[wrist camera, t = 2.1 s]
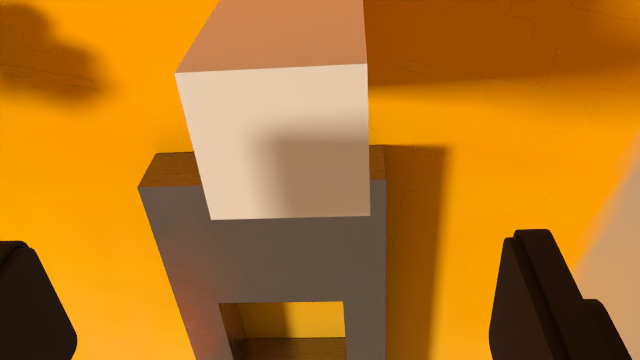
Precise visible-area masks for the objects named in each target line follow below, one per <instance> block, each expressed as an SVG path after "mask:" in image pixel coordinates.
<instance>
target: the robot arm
mask: <svg viewBox="0 0 640 360" xmlns="http://www.w3.org/2000/svg"><path fill="white" fill-rule="evenodd" d="M489 345H490V350H491V354H492V358H493V360H632V358H631V357H630V355H629V353H628V351H627V349H626V347H625V345H624V343H623V341H622V339H621V337H620V335H619V333H618V331H617V330H616V328H615V326H614V324H613V322H612V320H611V318H610V316H609V314H608V312H607V310H606V309H605V307H604V306H603V304H602V303H601V302H600V301H598V300H597V299H583V297H582V295H581V293H580V291H579V289H578V287H577V285H576V283H575V281H574V279H573V277H572V275H571V273H570V271H569V268H568V266H567V264H566V262H565V260H564V258H563V256H562V254H561V252H560V250H559V248H558V246H557V244H556V242H555V239H554V237H553V235H552V234H551V232H550V231H549V230H548V229H525V230H516V231H515V233H514V236H513V237H510V238H505V239H504V243H503V249H502V255H501V261H500V267H499V273H498V279H497V285H496V291H495V297H494V303H493V309H492V316H491V322H490V328H489ZM76 347H77V335H76V332H75V330H74V328H73V326H72V324H71V322H70V320H69V318H68V316H67V314H66V312H65V310H64V308H63V306H62V304H61V302H60V300H59V298H58V296H57V294H56V292H55V290H54V288H53V286H52V284H51V282H50V280H49V278H48V276H47V274H46V272H45V270H44V268H43V266H42V264H41V262H40V260H39V257H38V255H37V253H36V252H35V250H34V249H32V248H29V247H28V245H27V244H26V243H25V242H23V241H0V360H71V358H72V357H73V355H74V353H75V350H76Z"/></svg>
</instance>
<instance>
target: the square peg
mask: <svg viewBox="0 0 640 360" xmlns="http://www.w3.org/2000/svg"><path fill="white" fill-rule="evenodd" d="M174 74H175V78H176V82H177V86H178V90H179V94H180V98H181V102H182V106H183V110H184V113H185V117H186V121H187V125H188V129H189V133H190V137H191V141H192V145H193V149H194V153H195V157H196V161H197V165H198V169H199V173H200V177H201V181H202V185H203V189H204V193H205V197H206V201H207V205H208V209H209V213H210V217H211V220H227V219H265V218H303V217H341V216H370V175H369V125H368V76H367V53H366V38H365V23H364V9H363V0H220V1H219V3H218V4H217V6H216V8H215V9H214V11H213V12H212V14H211V16H210V17H209V19H208V20H207V22H206V23H205V25H204V27H203V28H202V30H201V31H200V33H199V35H198V36H197V38H196V39H195V41H194V43H193V44H192V46H191V47H190V49H189V51H188V52H187V54H186V55H185V57H184V59H183V60H182V62H181V63H180V65H179V66H178V68H177V70H176V71H175V73H174Z"/></svg>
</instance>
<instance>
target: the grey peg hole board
mask: <svg viewBox="0 0 640 360" xmlns="http://www.w3.org/2000/svg"><path fill="white" fill-rule="evenodd" d="M369 175H370V216H341V217H303V218H265V219H227V220H211V217H210V213H209V209H208V205H207V201H206V197H205V193H204V189H203V185H202V181H201V177H200V173H199V169H198V165H197V161H196V157H195V153H194V152H188V153H161V154H155V156H154V158H153V160H152V161H151V163H150V165H149V167H148V169H147V171H146V173H145V174H144V176H143V178H142V180H141V182H140V184H139V186H138V187H137V188H138V191H139V194H140V197H141V199H142V202H143V205H144V208H145V211H146V214H147V217H148V220H149V223H150V226H151V229H152V232H153V235H154V237H155V240H156V243H157V246H158V249H159V252H160V255H161V258H162V261H163V264H164V267H165V270H166V273H167V276H168V278H169V281H170V284H171V287H172V290H173V293H174V296H175V299H176V302H177V305H178V308H179V311H180V314H181V316H182V319H183V322H184V325H185V328H186V331H187V334H188V337H189V340H190V343H191V346H192V349H193V352H194V355H195V357H196V360H386V172H385V162H384V152H383V145H375V146H369ZM327 301H343V306H344V321H345V336H346V338H291V339H245V335H244V331H243V327H242V323H241V319H240V315H239V311H238V307H237V303H261V302H327Z"/></svg>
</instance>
